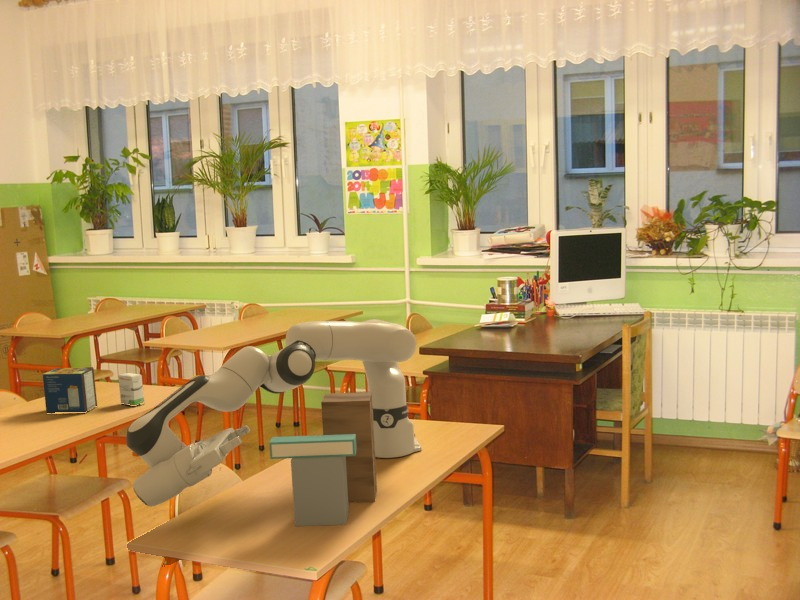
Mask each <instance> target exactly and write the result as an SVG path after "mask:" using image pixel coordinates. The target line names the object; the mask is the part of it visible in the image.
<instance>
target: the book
mask: <svg viewBox="0 0 800 600" xmlns="http://www.w3.org/2000/svg"><path fill="white" fill-rule="evenodd" d="M268 443H269V444H268V445H269V446H268V447H269V458H270V460H283V459H286V460H288V459H292V458H314V457H341V456H355V455H356V451H357V447H356V434H342V435H323V434H319V435H298V436H297V435H294V436H273V437H271V439H270V441H269V442H268Z"/></svg>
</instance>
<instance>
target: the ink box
mask: <svg viewBox="0 0 800 600" xmlns="http://www.w3.org/2000/svg"><path fill="white" fill-rule="evenodd" d="M117 376H118V386H119V395H120V397H119V398H120V404H121V403H124V404H130V405H137V404H140V403H143V402H144V403H145V396H144V387H143V375H142V374H139V373H132V372H126V373H121V374H118V375H117Z"/></svg>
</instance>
